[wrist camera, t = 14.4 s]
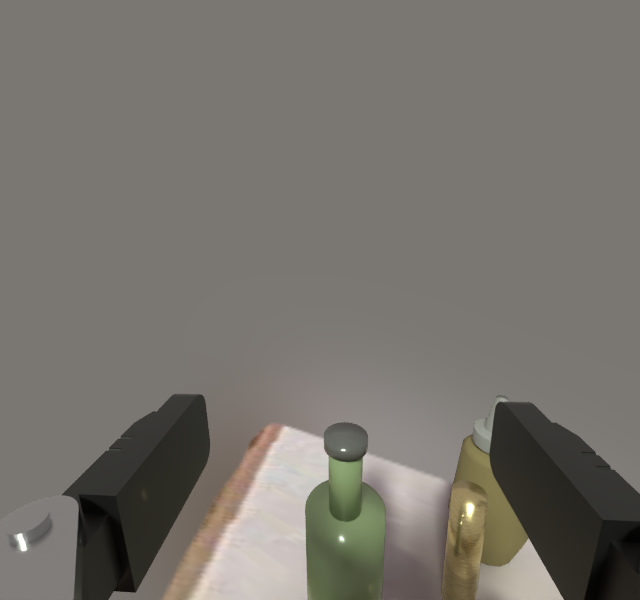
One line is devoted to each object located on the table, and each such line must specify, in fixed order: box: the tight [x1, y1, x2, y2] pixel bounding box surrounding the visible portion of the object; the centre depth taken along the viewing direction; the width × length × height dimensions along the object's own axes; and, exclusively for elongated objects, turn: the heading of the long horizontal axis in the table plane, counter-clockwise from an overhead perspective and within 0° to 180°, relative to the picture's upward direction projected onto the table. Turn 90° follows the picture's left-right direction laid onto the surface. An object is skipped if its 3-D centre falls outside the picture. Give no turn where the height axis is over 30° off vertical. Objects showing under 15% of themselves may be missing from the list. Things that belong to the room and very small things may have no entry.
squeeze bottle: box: [448, 395, 529, 566], centre depth 36 cm, size 8×8×18 cm
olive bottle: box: [305, 423, 386, 600], centre depth 24 cm, size 5×5×22 cm
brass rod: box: [442, 480, 489, 600], centre depth 31 cm, size 3×3×12 cm
